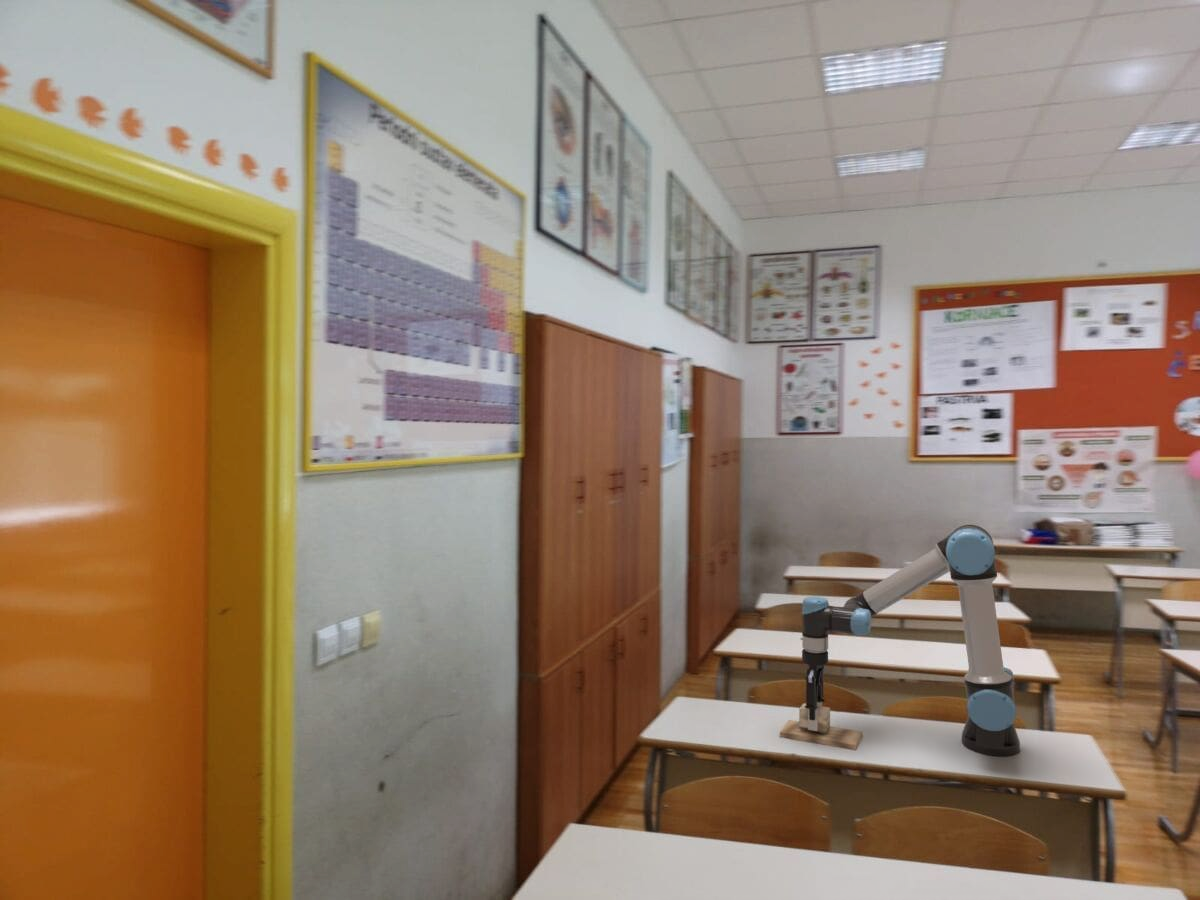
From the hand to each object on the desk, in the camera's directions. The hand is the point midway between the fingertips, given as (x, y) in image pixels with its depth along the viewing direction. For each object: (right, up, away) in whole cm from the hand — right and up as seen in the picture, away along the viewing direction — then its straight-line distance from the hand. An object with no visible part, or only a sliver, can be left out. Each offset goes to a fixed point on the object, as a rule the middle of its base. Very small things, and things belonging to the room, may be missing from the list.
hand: (815, 726), depth 238 cm
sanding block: (0, 0, 0) cm, 0 cm away
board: (+2, -3, -1) cm, 3 cm away
